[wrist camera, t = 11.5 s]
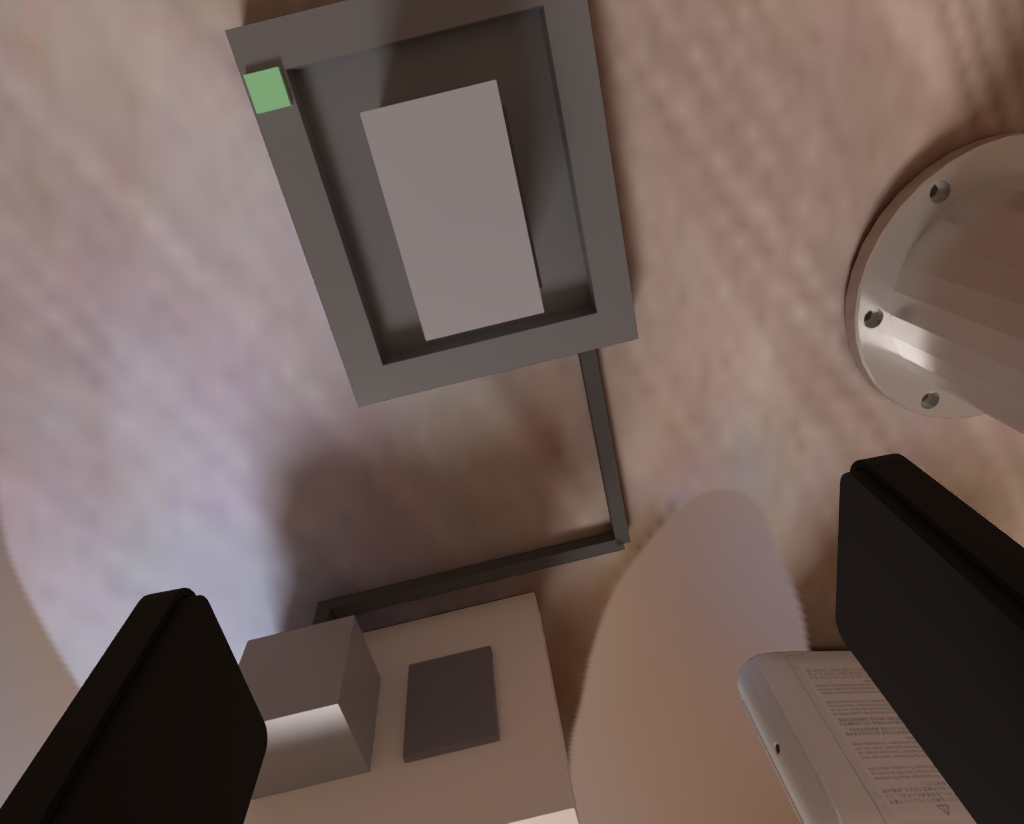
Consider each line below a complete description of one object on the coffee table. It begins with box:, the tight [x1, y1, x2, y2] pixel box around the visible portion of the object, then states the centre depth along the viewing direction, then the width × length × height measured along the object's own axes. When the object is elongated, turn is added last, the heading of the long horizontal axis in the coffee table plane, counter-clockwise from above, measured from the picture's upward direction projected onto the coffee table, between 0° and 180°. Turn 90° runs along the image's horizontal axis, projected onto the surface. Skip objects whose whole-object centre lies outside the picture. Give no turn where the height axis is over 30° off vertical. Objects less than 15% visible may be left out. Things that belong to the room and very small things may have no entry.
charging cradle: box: [225, 0, 639, 407], centre depth 25 cm, size 12×14×2 cm
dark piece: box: [312, 349, 630, 625], centre depth 30 cm, size 16×11×4 cm
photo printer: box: [737, 651, 977, 824], centre depth 34 cm, size 10×4×12 cm, turn 87°
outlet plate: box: [239, 592, 580, 824], centre depth 29 cm, size 14×6×12 cm, turn 103°
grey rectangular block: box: [360, 80, 544, 341], centre depth 23 cm, size 4×7×6 cm, turn 13°
